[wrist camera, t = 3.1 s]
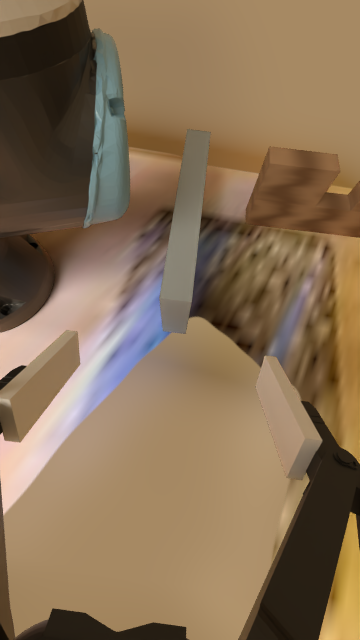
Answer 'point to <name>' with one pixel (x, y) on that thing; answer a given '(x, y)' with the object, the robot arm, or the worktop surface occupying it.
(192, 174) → the grey plain narrow board
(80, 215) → the robot arm
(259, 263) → the worktop surface
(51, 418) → the worktop surface
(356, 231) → the walnut slotted board
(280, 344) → the worktop surface
